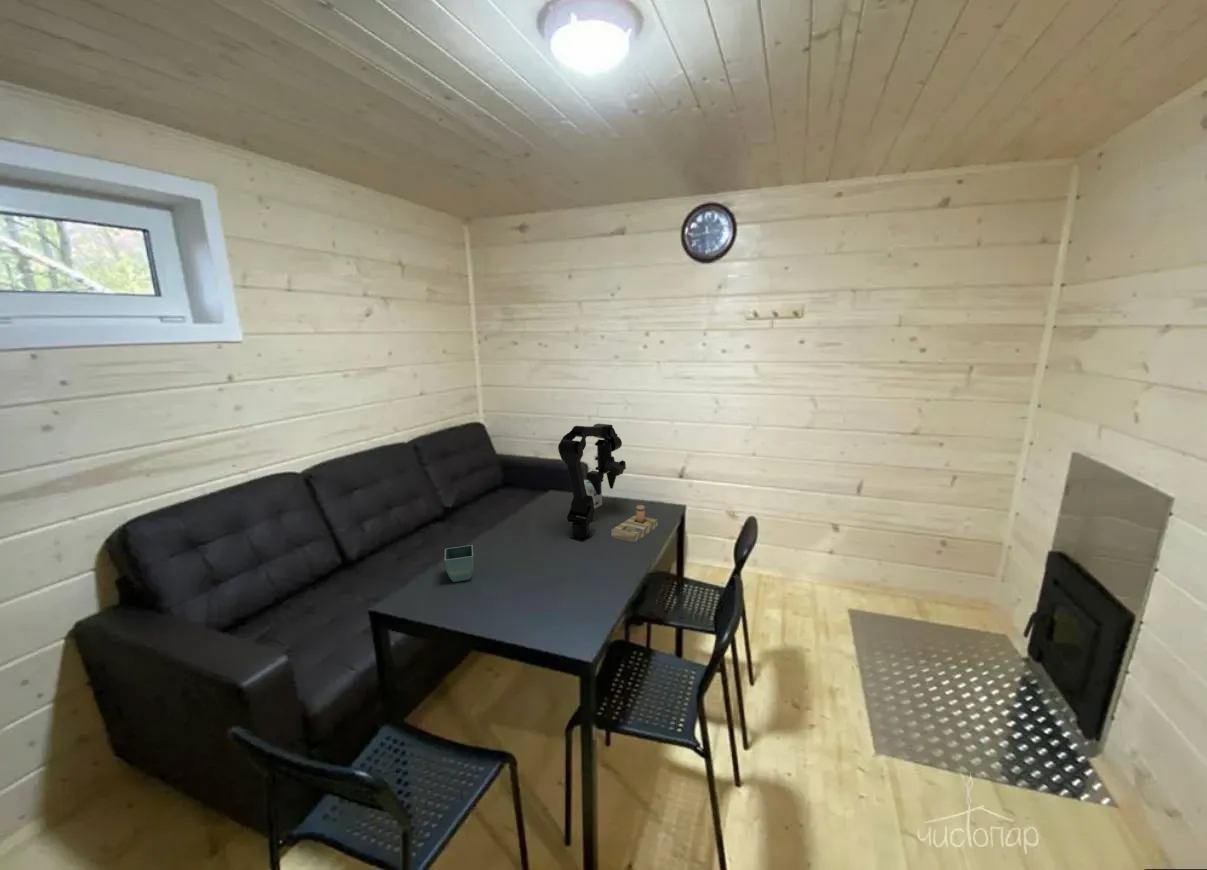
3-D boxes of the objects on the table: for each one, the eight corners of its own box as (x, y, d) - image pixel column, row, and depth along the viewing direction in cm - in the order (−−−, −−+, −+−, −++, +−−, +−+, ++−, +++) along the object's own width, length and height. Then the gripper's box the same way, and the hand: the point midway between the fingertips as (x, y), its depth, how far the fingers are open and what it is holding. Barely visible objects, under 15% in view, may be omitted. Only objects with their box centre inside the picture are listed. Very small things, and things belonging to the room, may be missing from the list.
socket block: (634, 542, 187) (634, 534, 187) (611, 537, 193) (611, 529, 192) (657, 526, 202) (657, 518, 201) (635, 521, 207) (635, 514, 207)
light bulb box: (602, 504, 228) (602, 481, 225) (594, 509, 222) (593, 486, 220) (583, 501, 233) (582, 478, 231) (574, 505, 228) (573, 482, 225)
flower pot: (446, 586, 159) (444, 560, 157) (447, 573, 167) (444, 548, 165) (475, 582, 161) (473, 556, 159) (474, 569, 169) (472, 544, 167)
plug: (642, 530, 199) (642, 508, 197) (634, 528, 200) (634, 506, 199) (646, 527, 201) (646, 505, 199) (639, 525, 203) (639, 504, 201)
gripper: (608, 462, 193) (609, 501, 196) (633, 452, 208) (633, 488, 211) (584, 458, 199) (585, 496, 202) (610, 448, 214) (611, 484, 217)
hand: (605, 491), depth 208 cm, fingers open, 9 cm apart
